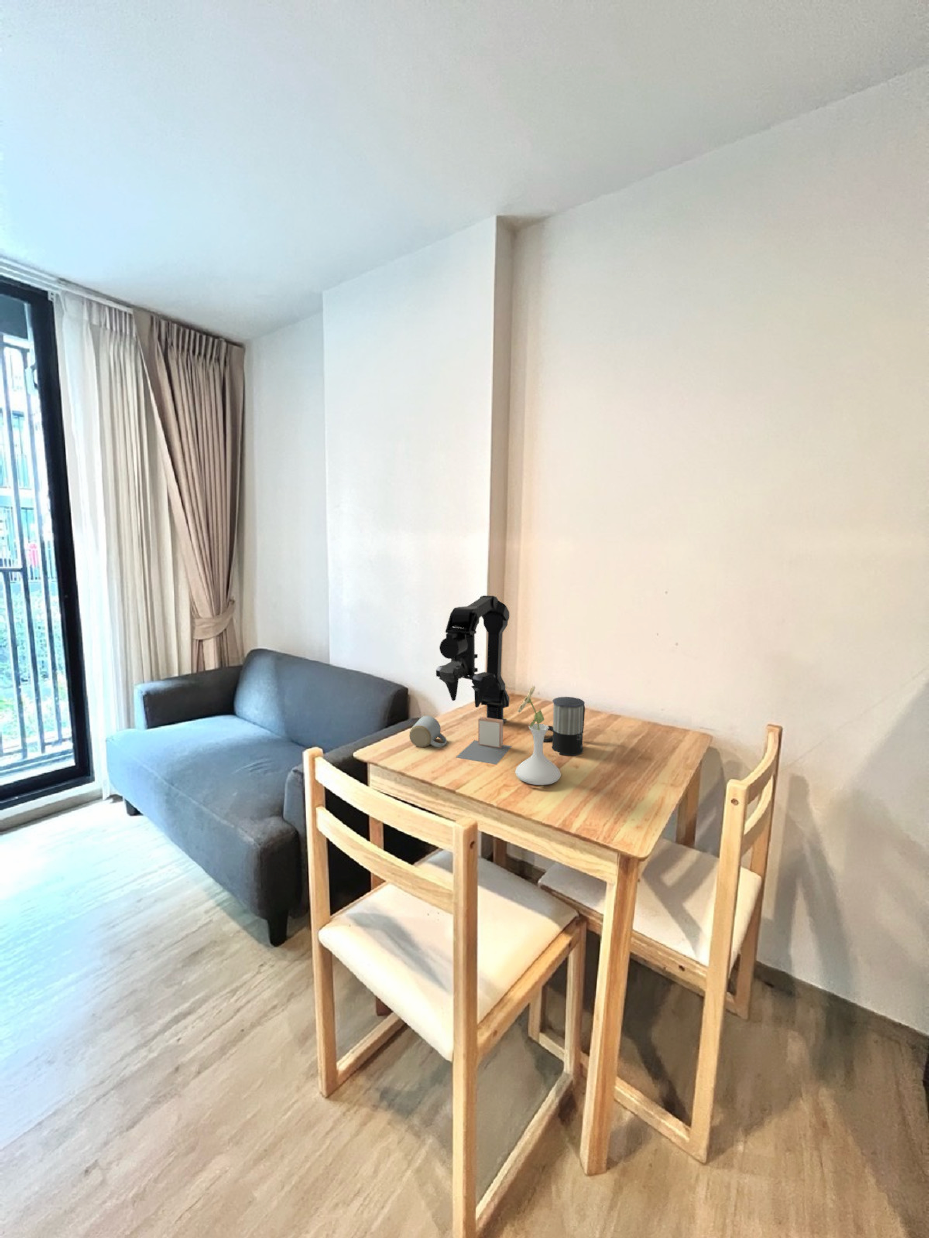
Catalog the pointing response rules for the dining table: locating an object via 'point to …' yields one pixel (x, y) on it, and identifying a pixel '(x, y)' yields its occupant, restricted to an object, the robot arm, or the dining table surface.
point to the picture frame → (490, 732)
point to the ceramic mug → (426, 732)
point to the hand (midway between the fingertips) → (465, 703)
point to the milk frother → (567, 726)
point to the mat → (483, 753)
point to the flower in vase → (537, 753)
